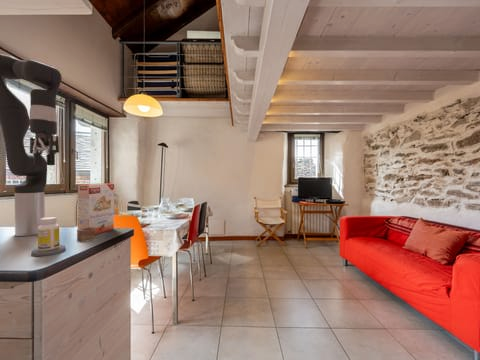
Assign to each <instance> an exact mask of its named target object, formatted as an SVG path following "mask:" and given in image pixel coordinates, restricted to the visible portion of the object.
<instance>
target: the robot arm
mask: <svg viewBox="0 0 480 360" xmlns="http://www.w3.org/2000/svg"><path fill="white" fill-rule="evenodd" d="M4 79H6V80H7V79H8V80H12V81H13V80H14V81H15V80H16V81H17V80H23V81H28V82H31V83H37V84H40V85H43V86H46V88H45V89H40V88H35V89H34V88H33V89H31V91H30V95H29V97H30V99H29V100H30V108H29V112H28V108H27V107H26V104H25V103H24V102H23V101H22V100H21V99H20V98H19V97H18V96H17V95H16V94H15V93H14V92H13V91H12V90H11V89H9V87H8V86H7V85H6V83H5V81H4ZM62 79H63V77H62V74H61V72H60V70H59V69H58V68H56V67H54V66H50V65H48V64H46V63H42V62H40V61H36V60H33V59H27V60H20V59H18V58H16V57H13V56H11V55H7V54H3V53H0V127H1V132H2V135H3V141H4V145H5V155H6V163H7V167H8V169H9V171H10V173H11V174H12V175H14V176H18V177H25V179H24V181H23V182H21V183H19V184H17V185H15V186H14V233H15V235H14V236H16V237H29V236H36V235H38V227H39V226H41V223H40V219H42V218H46V216H45V205H46V204H45V188H46V186H47V180H48V179H47V178H48V166H55V164H56V155H57V154H58V153H60V143H59V142H60V141H59V135H58V115H57V96H58V92H59V88H60V85H61V83H62ZM28 131H29V132H31V134H35V137H33V136H30V138H29V153H27V151H26V149H25V144H24V139H25V137H26V134H27V133H28ZM43 152H46V158H45V157H44V156H43Z"/></svg>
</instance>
